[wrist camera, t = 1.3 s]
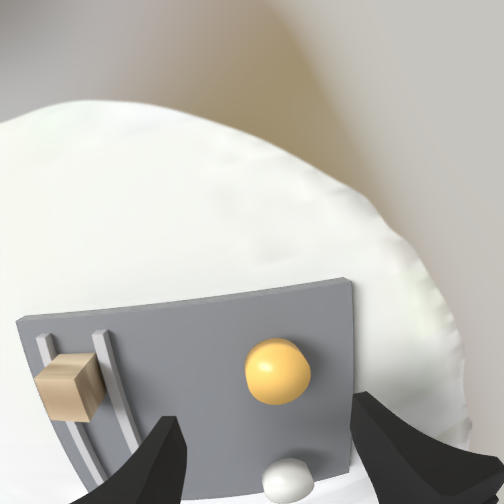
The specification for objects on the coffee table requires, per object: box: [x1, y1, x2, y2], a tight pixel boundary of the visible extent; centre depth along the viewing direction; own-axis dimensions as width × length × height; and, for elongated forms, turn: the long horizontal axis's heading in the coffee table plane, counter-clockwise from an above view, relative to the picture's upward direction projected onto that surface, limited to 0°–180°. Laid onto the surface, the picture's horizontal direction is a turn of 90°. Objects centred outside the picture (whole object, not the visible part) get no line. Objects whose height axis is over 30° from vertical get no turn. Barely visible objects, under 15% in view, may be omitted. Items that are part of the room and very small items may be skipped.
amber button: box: [244, 338, 311, 405], centre depth 18 cm, size 4×4×2 cm
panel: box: [16, 277, 354, 500], centre depth 21 cm, size 18×24×2 cm
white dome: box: [261, 458, 314, 504], centre depth 19 cm, size 4×4×2 cm
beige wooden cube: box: [34, 353, 107, 422], centre depth 17 cm, size 3×3×4 cm
